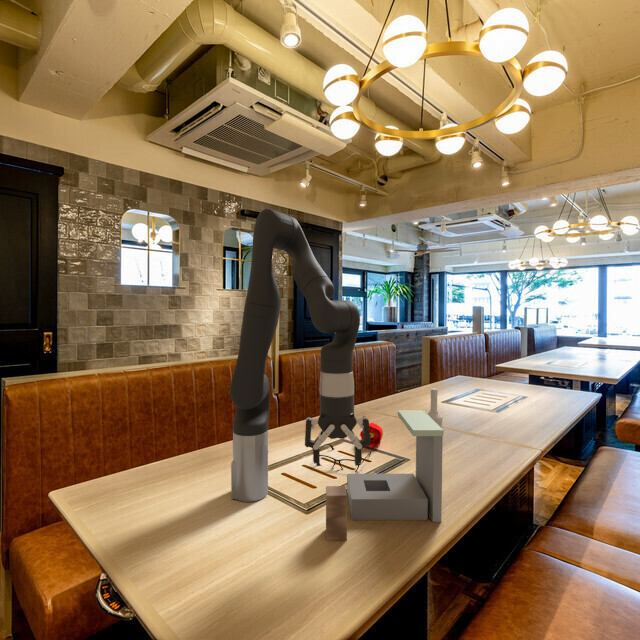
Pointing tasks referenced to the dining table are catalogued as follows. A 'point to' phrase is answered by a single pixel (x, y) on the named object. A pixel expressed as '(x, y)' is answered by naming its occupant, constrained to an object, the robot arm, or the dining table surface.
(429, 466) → the panel
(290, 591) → the dining table surface
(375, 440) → the flower
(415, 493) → the socket
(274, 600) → the dining table surface
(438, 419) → the bottle
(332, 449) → the eyeglasses
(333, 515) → the peg
